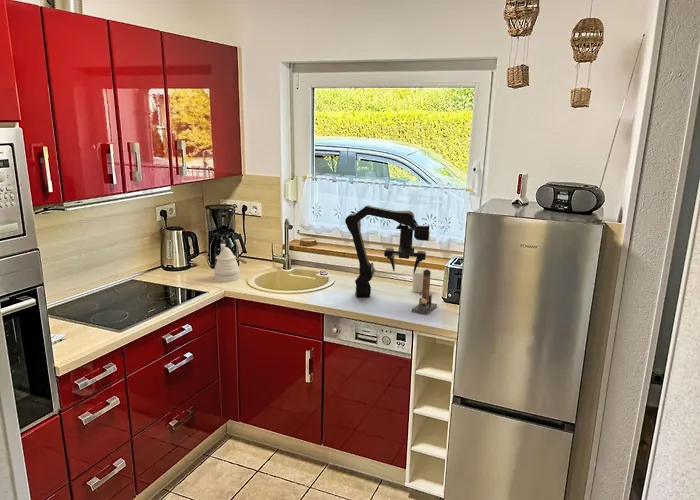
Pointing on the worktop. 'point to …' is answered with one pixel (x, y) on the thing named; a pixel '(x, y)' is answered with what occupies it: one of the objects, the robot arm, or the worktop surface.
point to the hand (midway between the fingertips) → (403, 272)
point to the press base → (424, 306)
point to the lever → (426, 284)
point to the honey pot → (226, 266)
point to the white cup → (418, 280)
